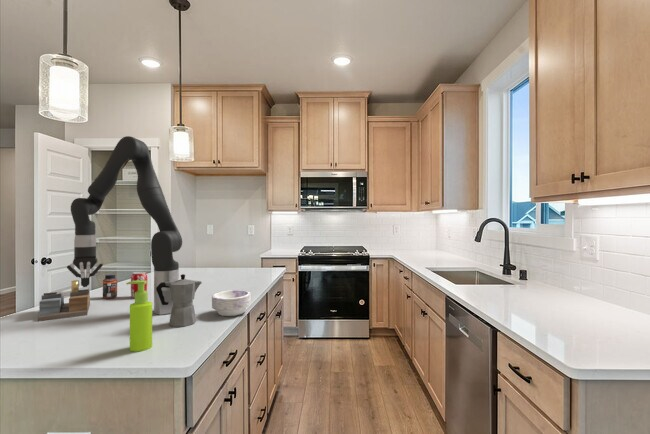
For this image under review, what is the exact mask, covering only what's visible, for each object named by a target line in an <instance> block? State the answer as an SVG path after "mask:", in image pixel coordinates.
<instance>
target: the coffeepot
mask: <svg viewBox="0 0 650 434" xmlns="http://www.w3.org/2000/svg"><path fill="white" fill-rule="evenodd" d="M201 284H203V283H202V281H200V280H193V279H187V278H186V274H184V273H183V274H180V279H179V280H177V281H174V282H161V283H160V284H159V285H158V286H157V288H156V291H157V293H158V295H159V298H160V301H161V303H162V305H168V303H169V302H165V299H164V296H163V292H162V290H161V288H163V287H165V288H170V293H171V300H172V302H173V307H172V310H171V313H170V316H169V323H168V324H169V326H170V327H173V328H184V327H185V328H186V327H190V326H192V325H194V324H195V323H196V322H197V317H196V312H195V305H194V303H193V301H194V300H195V295H196V292H197V290H198V289H199V287H200V285H201Z"/></svg>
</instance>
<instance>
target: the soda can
mask: <svg viewBox="0 0 650 434" xmlns="http://www.w3.org/2000/svg"><path fill="white" fill-rule="evenodd" d="M136 280H143V281H147V283H146V284H144V290H145V291H147V292H148V274H147V272H146V271H134V272H132V275H131V277H130V282H131V281H136ZM137 291H138V284H130V296H131V298H133V299H135V292H137Z"/></svg>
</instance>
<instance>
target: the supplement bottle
mask: <svg viewBox="0 0 650 434" xmlns="http://www.w3.org/2000/svg"><path fill="white" fill-rule="evenodd" d="M104 275H105V278H104V279H103V280H102V299H104V300H106V299H107V300H111V299H115V298H118V279H117V277H116V274H115V273H107V274H104Z"/></svg>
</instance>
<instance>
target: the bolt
mask: <svg viewBox="0 0 650 434" xmlns="http://www.w3.org/2000/svg"><path fill="white" fill-rule="evenodd" d="M70 285H71V290H68V291H56V292H57V293H56V294H61V297H64V298H65V297H70V293H74V292H78V291H79V290H80V288H79V285H80V281H79V279H75V280H71V284H70Z"/></svg>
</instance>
